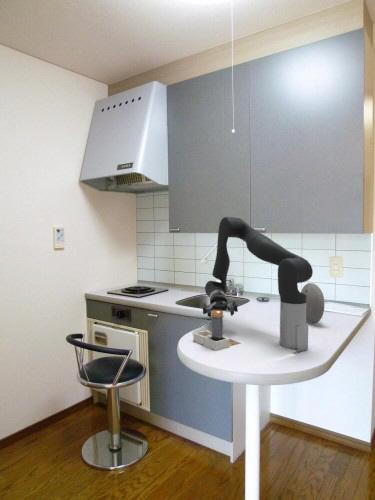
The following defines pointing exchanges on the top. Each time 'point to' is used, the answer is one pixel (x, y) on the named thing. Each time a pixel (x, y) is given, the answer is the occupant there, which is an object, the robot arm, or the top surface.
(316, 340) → the top surface
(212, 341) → the brass-tag socket
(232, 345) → the board
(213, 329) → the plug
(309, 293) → the grey round disc
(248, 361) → the top surface
